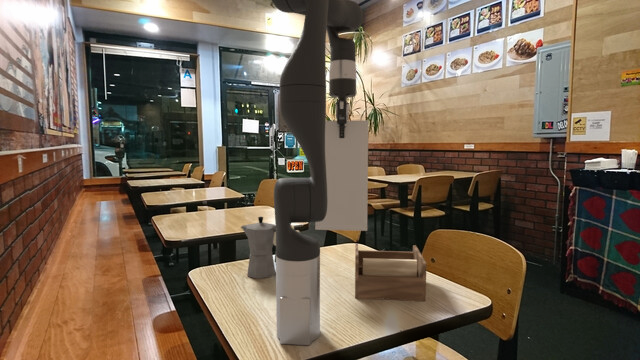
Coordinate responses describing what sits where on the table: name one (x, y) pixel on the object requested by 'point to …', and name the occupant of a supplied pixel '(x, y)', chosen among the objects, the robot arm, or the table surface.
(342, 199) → the brochure
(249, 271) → the coffeepot
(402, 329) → the table surface
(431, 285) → the table surface
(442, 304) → the table surface
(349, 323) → the table surface
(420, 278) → the rack
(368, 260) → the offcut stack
